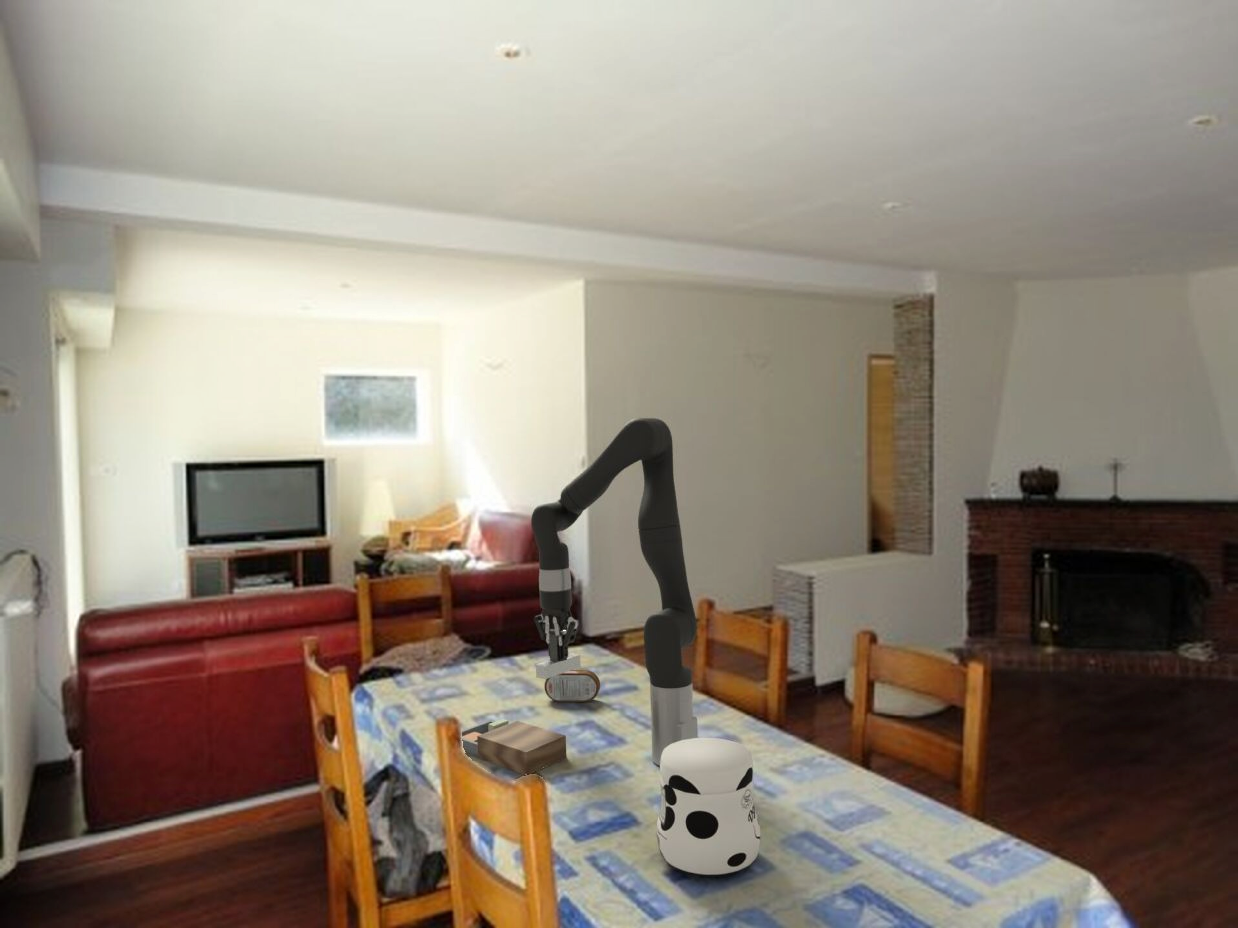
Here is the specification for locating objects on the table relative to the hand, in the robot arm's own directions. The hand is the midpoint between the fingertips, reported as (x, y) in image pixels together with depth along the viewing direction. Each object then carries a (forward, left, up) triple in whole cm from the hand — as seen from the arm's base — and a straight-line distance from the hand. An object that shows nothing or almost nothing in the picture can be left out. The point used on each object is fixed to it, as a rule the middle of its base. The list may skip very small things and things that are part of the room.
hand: (558, 658), depth 197 cm
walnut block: (-2, +14, -19) cm, 24 cm away
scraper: (0, 0, -3) cm, 3 cm away
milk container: (-60, +25, -19) cm, 68 cm away
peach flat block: (+12, +17, -16) cm, 26 cm away
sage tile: (+8, +12, -16) cm, 21 cm away
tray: (+11, +14, -19) cm, 26 cm away
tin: (+16, -21, -19) cm, 32 cm away
